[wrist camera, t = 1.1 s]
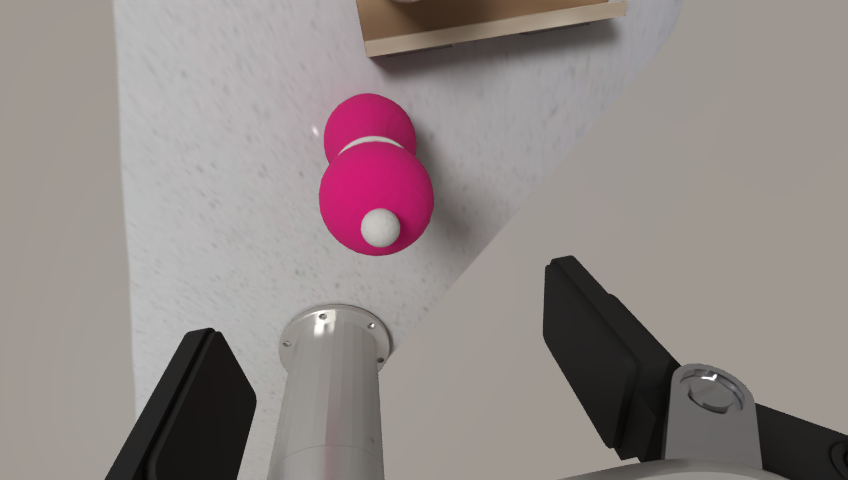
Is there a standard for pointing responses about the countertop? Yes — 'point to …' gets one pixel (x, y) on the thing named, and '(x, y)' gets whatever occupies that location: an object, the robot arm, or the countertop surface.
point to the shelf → (469, 21)
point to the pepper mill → (373, 177)
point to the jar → (405, 1)
